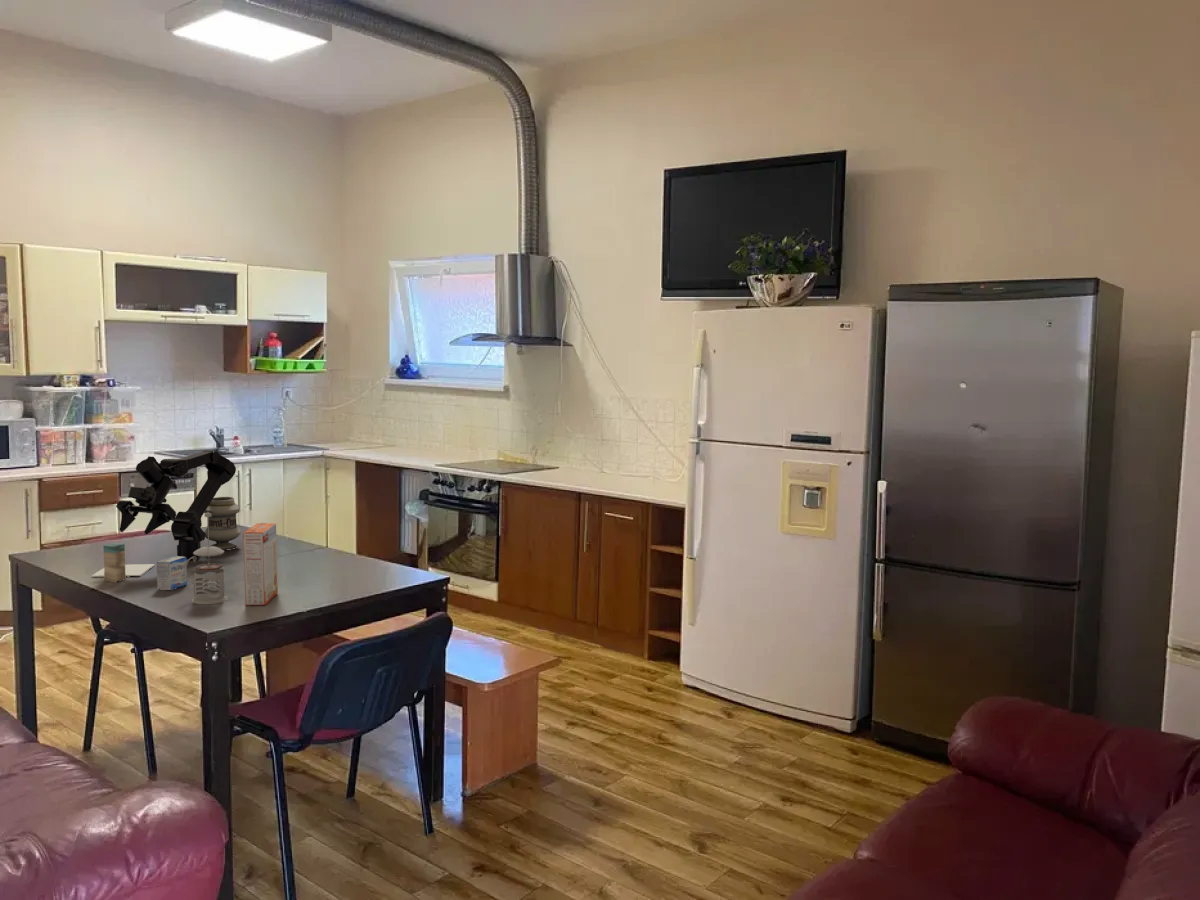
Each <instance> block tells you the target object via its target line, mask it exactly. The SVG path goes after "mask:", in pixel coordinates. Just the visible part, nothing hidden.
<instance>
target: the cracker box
mask: <svg viewBox="0 0 1200 900" xmlns="http://www.w3.org/2000/svg"><path fill="white" fill-rule="evenodd" d="M242 537H243V542H242V544H243V567H244V568H243V570H244V571H243V572H244V573H243V575H244V600H245V601H244V604H245V606H246V607H247V606H250V605H254V606H266V605H267V604H268V603H269V602H271V600H272V599H273V598H274V597H275V596H276V595H277V594H278V591H279V589H278V585H279V583H278V557H277V556H278V554H277V553H278V552H277V550H278V549H277V544H278V543H277V523H274V522H273V523H271V522H270V523H268V522H266V523H265V522H261V523H260V522H259V523H256V524H254V525H252V526H251V527H250V528H248V529H247V530H245V531H244V532H243V533H242Z"/></svg>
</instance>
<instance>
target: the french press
mask: <svg viewBox="0 0 1200 900" xmlns="http://www.w3.org/2000/svg"><path fill="white" fill-rule="evenodd" d="M203 515H204V517H205V518H207V517H208V539H207V546H202V547H201V548H200V549H197V550H196V551H194V553H193V554H194V555H196V556H201V557H215V556H221V555H224V553H225V551H223V550H222V549H220V548H218V547H214V546H211V545H210V540H209V517H212V514H211V513H209V512H208V513H204V514H203ZM196 556H193V557H195V560H194V558H193V557H191V558H190V559H192V558H193V560H192V561H193V562H194V563H196V562H197V560H196ZM190 559H188V560H186V563H185V565H186V573H187V577H186V575H185V565H184V575H185V577H186V579H187V582H190V583H191V584H193V592H194V593H193V595H194V596H193V598H192V599H191V600H192V602H193V603H192V602H191V603H192V604H195V603H196V604H195V605H214V604H220V603H224V602H226V601H227V600H229V597H228V596H227V595H225V570H224V569H222V567H223V564H221V563H215V562H214V563H212V562H208V563H202V564H201V563H200V564H197V565H195V567H194V568H195V569H196V571H194V573H193V574H194V577H193V579H192V578H191V577H190V575H189V574H188V569H187V568H188V567H187V566H188V563H189V562H190V561H191V560H190ZM207 573H209V574H207ZM209 586H210V587H209Z"/></svg>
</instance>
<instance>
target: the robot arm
mask: <svg viewBox="0 0 1200 900" xmlns="http://www.w3.org/2000/svg"><path fill="white" fill-rule="evenodd" d="M201 466H204V467H205V468H206V470H207V471H206V472H207V473H206V475H207V479H206V480H205V482H204V484H203V485H202V487H201V489H200V491H199V492H198V494H197V495H196V497H195V498H194V499H193V501H192V503H191V504H190V506H189V507H188V509H187V510H186V511H178V512H176V510H175V509H174V508H173V507H172V506H171V505H170V504H169V503H167V501H168V499H166V498H167V495H168V494H169V492H170V490H176V489H178V485H177V482H176V480H174V479H172V478H181V477H183V476H186V475H187V474H188V473H189V471H190V470H192V469H195V468H198V467H201ZM135 470H136V472H137V473H138V475H139V476H140V477H141V478H142V479H143V480H144V481H145V482H146V483H147V484H150V485H149V486H146V487H138V486H137V487H135V486H131V487H130V488H129V492H128V496H127V497H128V498H130V499H134V500H135V503H136V504H138V505H136V504H134V502H133V501H131V500H125V499H124V500H119V501H118V502H117V503H116V506H115V508H117V509H118V511H119V512H120V515H121V519H120V525H119V532H120V533H124V532H125V530H127V529H128V528H129V527H130V525H131V524H132V523H134V521H135V520H136V517H137V516H138V515H139V513H142V514H151V518H150V520H149V522H148V524H147V525H146V527H145V529H144V532H143V533H144V535H148V534H150V533H152V532H153V531H155V530H156V529H158V528H160V527H161V526H163V525H165V524H166V523H170V521H172V524H171V526H170V531H171V535H172V537H173V539H174V540H173V541H178V544H177V545H176V556H182V557H186V561H187V560H188V559H190V558H191V557H193V556H196V555H194V554H193V553H194V551H196V550H197V549H200V548H202V547H201V546H202V545H201V542H203V541H205V539H206V537H205V535H206V534H205V532H204V531H205V530H203V529H202V517H203V515H205V513H204V512H205V511H206V509H207V507H208V506H209V504H210V503H211V501H212V499H213V498H214V497H215V496H216V494H217V493H218V491H219V490H220V488H221V487H222V486H223V485H224V484H226V483H228V482H230V481H231V479H232V478H233V477H234V476H235V474H236V473H237V472H236V471H237V466H236V465H235V464H234V462H233V461H231V460H230V459H229V458H227V457H225V456H223V455H221V454H220V453H219V451H216V450H211V449H204V450H203V451H200V452H197V453H193V454H191V455H187V456H184V457H181V458H180V457H179V458H163V459H161V460H160V462H158V461H157V459H156V458H155V457H154V456H151V455H149V456H147V458H146V459H143V460H141V461H140V462H139V463H137V464H136V466H135ZM171 477H172V478H171ZM201 557H202V556H196V561H197V560H199V559H200V558H201ZM193 558H194V561H195V557H193ZM193 558H192V559H190V560H189V561H193Z"/></svg>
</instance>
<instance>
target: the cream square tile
mask: <svg viewBox="0 0 1200 900" xmlns="http://www.w3.org/2000/svg"><path fill="white" fill-rule="evenodd" d="M153 566H154V567H155V566H156V564H154V563H150V564H149V563H147V564H145V563H143V564H141V563H140V564H136V563H135V564H133V563H132V564H125V576H141V575H142V574H144V573H145V572H146V571H148V570H149V569H150V568H152V567H153ZM154 567H153V568H154ZM153 568H152V569H153ZM150 570H151V569H150ZM150 570H149V571H150ZM149 571H148V572H149ZM146 573H147V572H146ZM146 573H145V574H146ZM145 574H144V575H145ZM142 576H143V575H142ZM142 576H141V577H142ZM94 577H104V567H103V568H101V569H100V570H98V571H97V572H95V573H93V574H92V575H91V579H93V578H94Z"/></svg>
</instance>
